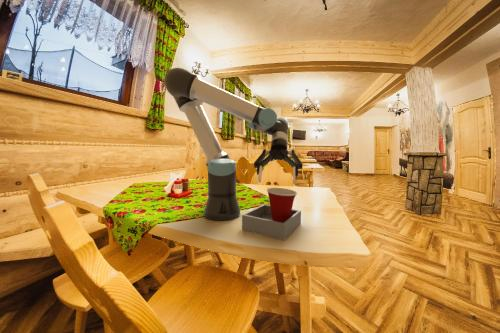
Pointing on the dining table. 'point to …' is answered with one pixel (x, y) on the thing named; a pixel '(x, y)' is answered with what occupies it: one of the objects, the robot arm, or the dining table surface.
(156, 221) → the dining table surface
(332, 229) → the dining table surface
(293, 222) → the bin
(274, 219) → the plastic cup
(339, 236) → the dining table surface
